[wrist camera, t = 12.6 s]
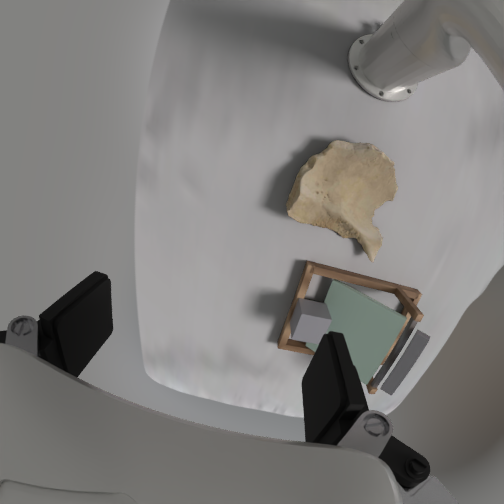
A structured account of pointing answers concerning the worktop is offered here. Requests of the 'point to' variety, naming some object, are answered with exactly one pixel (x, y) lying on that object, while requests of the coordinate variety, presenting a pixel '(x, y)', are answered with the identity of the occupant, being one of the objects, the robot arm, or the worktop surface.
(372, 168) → the rock
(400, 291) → the frame
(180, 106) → the worktop surface
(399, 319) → the trapdoor
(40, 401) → the robot arm
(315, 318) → the block
